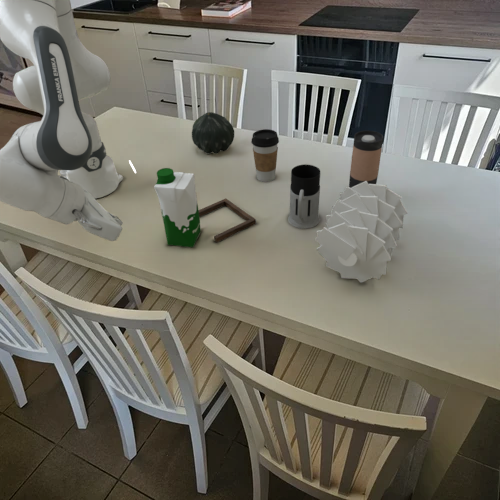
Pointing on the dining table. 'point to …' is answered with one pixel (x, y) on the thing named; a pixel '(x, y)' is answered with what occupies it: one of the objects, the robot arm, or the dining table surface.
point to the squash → (212, 133)
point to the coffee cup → (265, 153)
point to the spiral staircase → (362, 231)
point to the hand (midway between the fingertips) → (119, 222)
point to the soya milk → (178, 207)
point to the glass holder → (304, 196)
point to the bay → (237, 210)
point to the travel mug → (365, 157)
